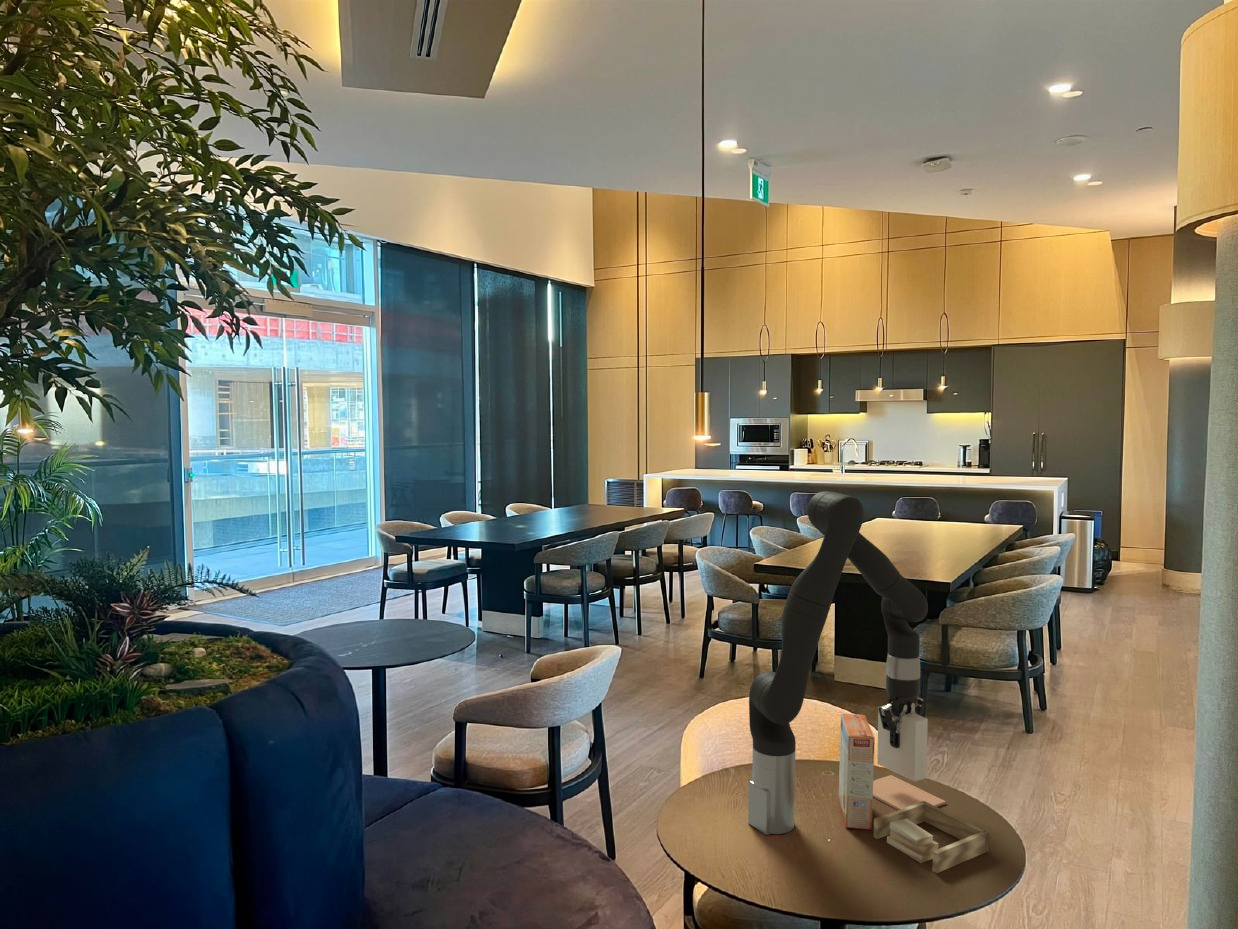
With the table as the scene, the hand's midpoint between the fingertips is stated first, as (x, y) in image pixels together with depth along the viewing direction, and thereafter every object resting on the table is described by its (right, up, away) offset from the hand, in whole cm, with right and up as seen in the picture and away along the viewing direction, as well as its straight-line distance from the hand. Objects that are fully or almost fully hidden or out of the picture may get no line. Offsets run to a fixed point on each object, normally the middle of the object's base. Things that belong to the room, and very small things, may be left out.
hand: (901, 744), depth 192 cm
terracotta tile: (0, -12, +1) cm, 12 cm away
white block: (0, -6, 0) cm, 6 cm away
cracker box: (-13, -13, -8) cm, 20 cm away
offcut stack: (-6, -14, -23) cm, 27 cm away
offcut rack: (-1, -14, -21) cm, 25 cm away
